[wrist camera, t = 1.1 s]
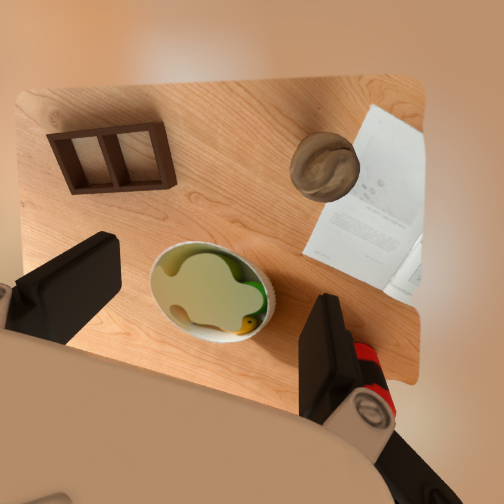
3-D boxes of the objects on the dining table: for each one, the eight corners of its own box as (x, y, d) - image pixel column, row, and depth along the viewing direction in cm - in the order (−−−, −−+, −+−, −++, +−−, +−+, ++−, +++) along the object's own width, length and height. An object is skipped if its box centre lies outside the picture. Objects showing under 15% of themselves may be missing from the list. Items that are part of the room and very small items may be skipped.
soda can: (326, 352, 49) (334, 417, 38) (360, 335, 45) (379, 400, 35) (350, 374, 50) (364, 441, 40) (384, 358, 47) (410, 427, 37)
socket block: (163, 122, 33) (152, 122, 31) (177, 184, 37) (168, 189, 34) (63, 133, 36) (45, 134, 33) (86, 189, 40) (71, 195, 37)
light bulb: (285, 163, 33) (278, 193, 20) (303, 119, 31) (308, 121, 18) (324, 179, 34) (341, 219, 21) (345, 137, 31) (381, 152, 18)
